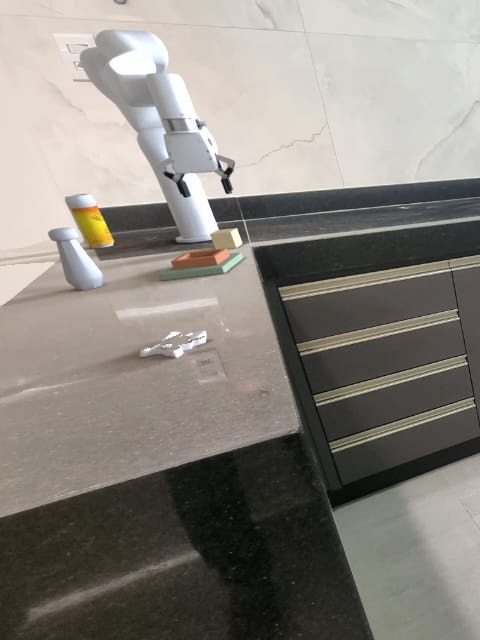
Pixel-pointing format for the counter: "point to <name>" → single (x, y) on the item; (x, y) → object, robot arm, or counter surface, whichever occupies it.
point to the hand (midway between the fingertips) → (208, 195)
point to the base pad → (201, 264)
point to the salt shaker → (75, 260)
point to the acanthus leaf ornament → (182, 347)
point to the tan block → (226, 238)
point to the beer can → (89, 220)
